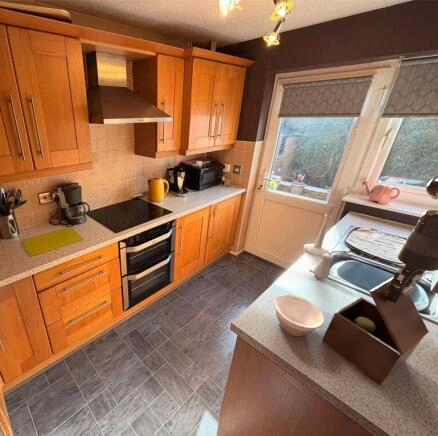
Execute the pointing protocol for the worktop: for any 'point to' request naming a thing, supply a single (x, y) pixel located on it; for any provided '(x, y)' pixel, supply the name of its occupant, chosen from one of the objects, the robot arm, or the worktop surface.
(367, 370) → the chest
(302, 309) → the bowl
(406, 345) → the lid
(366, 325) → the cork
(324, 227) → the candlestick
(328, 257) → the salt shaker
